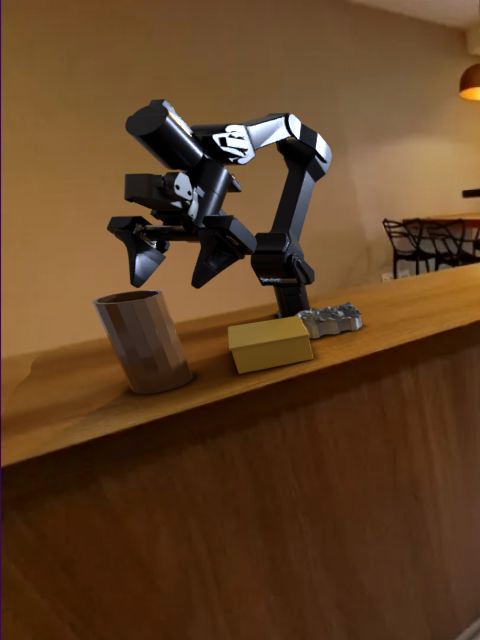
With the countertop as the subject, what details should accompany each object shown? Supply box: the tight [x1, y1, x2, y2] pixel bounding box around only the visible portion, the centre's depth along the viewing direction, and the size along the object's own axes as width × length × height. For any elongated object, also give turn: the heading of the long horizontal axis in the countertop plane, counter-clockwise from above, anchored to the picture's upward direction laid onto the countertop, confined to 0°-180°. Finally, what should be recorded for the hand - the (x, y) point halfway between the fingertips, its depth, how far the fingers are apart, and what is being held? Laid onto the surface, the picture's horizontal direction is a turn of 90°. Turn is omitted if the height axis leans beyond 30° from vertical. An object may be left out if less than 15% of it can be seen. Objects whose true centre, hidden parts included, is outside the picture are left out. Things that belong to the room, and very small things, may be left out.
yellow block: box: [227, 316, 314, 375], centre depth 68 cm, size 11×10×4 cm
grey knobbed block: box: [295, 301, 363, 339], centre depth 79 cm, size 11×8×4 cm
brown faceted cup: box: [91, 289, 194, 395], centre depth 57 cm, size 7×7×12 cm
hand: (164, 286), depth 60 cm, fingers open, 9 cm apart
